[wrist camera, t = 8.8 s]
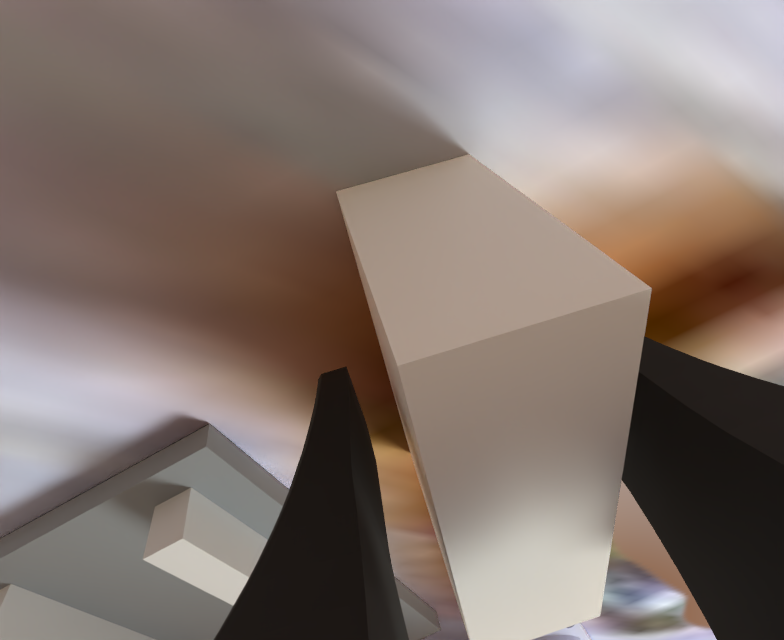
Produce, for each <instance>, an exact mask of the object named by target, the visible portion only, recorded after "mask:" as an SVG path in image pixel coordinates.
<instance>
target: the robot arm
mask: <svg viewBox="0 0 784 640" xmlns="http://www.w3.org/2000/svg"><path fill="white" fill-rule="evenodd" d="M622 481H623V482H624V483H625V485H626V486H627V488H628V489H629V491H630V492H631V494H632V495H633V497H634V498H635V500H636V501H637V503H638V505H639V506H640V508H641V509H642V511H643V513H644V514H645V516H646V517H647V519H648V521H649V522H650V524H651V525H652V527H653V528H654V530H655V532H656V534H657V535H658V537H659V539H660V540H661V542H662V543H663V545H664V547H665V549H666V550H667V552H668V554H669V555H670V557H671V559H672V560H673V562H674V564H675V565H676V567H677V569H678V570H679V572H680V574H681V576H682V577H683V579H684V581H685V583H686V585H687V586H688V588H689V589H690V591H691V593H692V595H693V597H694V598H695V600H696V602H697V604H698V606H699V607H700V609H701V611H702V613H703V614H704V616H705V618H706V620H707V622H708V624H709V626H710V628H711V629H712V631H713V633H714V635H715V637H716V639H717V640H784V386H781V385H777V384H774V383H770V382H767V381H764V380H760V379H757V378H754V377H751V376H748V375H744V374H741V373H738V372H735V371H732V370H729V369H726V368H723V367H720V366H717V365H714V364H711V363H709V362H706V361H703V360H700V359H698V358H695V357H693V356H690V355H688V354H685V353H683V352H680V351H678V350H675V349H672V348H670V347H668V346H665V345H663V344H660V343H658V342H656V341H653V340H651V339H649V338H647V337H644V341H643V347H642V353H641V360H640V366H639V372H638V379H637V385H636V391H635V398H634V404H633V410H632V417H631V423H630V429H629V436H628V442H627V448H626V455H625V461H624V467H623V474H622ZM214 640H409V637H408V633H407V629H406V625H405V621H404V617H403V612H402V608H401V604H400V600H399V595H398V591H397V587H396V583H395V578H394V574H393V570H392V564H391V559H390V554H389V548H388V541H387V534H386V527H385V520H384V513H383V506H382V499H381V492H380V485H379V478H378V472H377V465H376V459H375V455H374V451H373V447H372V443H371V440H370V436H369V432H368V428H367V424H366V421H365V418H364V415H363V413H362V410H361V407H360V404H359V401H358V398H357V396H356V393H355V390H354V387H353V384H352V381H351V379H350V376H349V373H348V370H347V367H343V368H340V369H337V370H334V371H330V372H327V373H324V374H321V376H320V377H319V379H318V387H317V393H316V399H315V404H314V409H313V413H312V418H311V422H310V426H309V429H308V433H307V437H306V441H305V444H304V448H303V451H302V454H301V457H300V460H299V463H298V466H297V469H296V472H295V475H294V478H293V481H292V484H291V487H290V489H289V492H288V495H287V497H286V500H285V502H284V505H283V507H282V510H281V512H280V514H279V517H278V519H277V521H276V523H275V526H274V528H273V530H272V532H271V535H270V537H269V539H268V541H267V543H266V545H265V547H264V549H263V551H262V553H261V555H260V557H259V559H258V562H257V564H256V565H255V567H254V569H253V571H252V573H251V575H250V577H249V579H248V581H247V583H246V585H245V586H244V588H243V590H242V592H241V593H240V595H239V597H238V598H237V600H236V602H235V604H234V605H233V607H232V609H231V611H230V612H229V614H228V616H227V618H226V619H225V621H224V623H223V625H222V626H221V628H220V630H219V632H218V633H217V635H216V637H215V638H214ZM532 640H592V639H591V638H590V636H589V635H588V633H587V632H586V630H585V629H584V627H583V626H582V624H581V623H578V624H575V625H573V626H570V627H567V628H564V629H561V630H558V631H555V632H552V633H549V634H547V635H544V636H541V637H538V638H535V639H532Z"/></svg>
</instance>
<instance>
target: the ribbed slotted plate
mask: <svg viewBox="0 0 784 640" xmlns="http://www.w3.org/2000/svg"><path fill="white" fill-rule="evenodd" d="M288 492H289V489H287V488H286V487H285V486H284V485H283V484H281V483H280V482H279V481H278V480H277V479H275V478H274V477H273V476H272V475H271V474H269V473H268V472H267V471H266V470H264V469H263V468H262V467H261V466H260V465H258V464H257V463H256V462H255V461H254V460H252V459H251V458H250V457H249V456H248V455H246V454H245V453H244V452H243V451H242V450H240V449H239V448H238V447H237V446H236V445H234V444H233V443H232V442H231V441H229V440H228V439H227V438H226V437H225V436H223V435H222V434H221V433H220V432H219V431H217V430H216V429H215V428H214V427H213V426H211V425H210V424H208V425H207V426H205V427H203V428H201V429H199V430H198V431H196V432H194V433H192V434H190V435H188V436H187V437H185V438H183V439H181V440H179V441H177V442H176V443H174V444H172V445H170V446H168V447H167V448H165V449H163V450H161V451H159V452H157V453H156V454H154V455H152V456H150V457H148V458H146V459H145V460H143V461H141V462H139V463H137V464H136V465H134V466H132V467H130V468H128V469H126V470H125V471H123V472H121V473H119V474H117V475H116V476H114V477H112V478H110V479H108V480H106V481H105V482H103V483H101V484H99V485H97V486H95V487H94V488H92V489H90V490H88V491H86V492H85V493H83V494H81V495H79V496H77V497H75V498H74V499H72V500H70V501H68V502H66V503H64V504H63V505H61V506H59V507H57V508H55V509H54V510H52V511H50V512H48V513H46V514H44V515H43V516H41V517H39V518H37V519H35V520H34V521H32V522H30V523H28V524H26V525H24V526H23V527H21V528H19V529H17V530H15V531H13V532H12V533H10V534H8V535H6V536H4V537H3V538H1V539H0V640H214V638H215V637H216V635H217V633H218V632H219V630H220V628H221V626H222V625H223V623H224V621H225V619H226V618H227V616H228V614H229V612H230V611H231V609H232V607H233V605H234V604H235V602H236V600H237V598H238V597H239V595H240V593H241V592H242V590H243V588H244V586H245V585H246V583H247V581H248V579H249V577H250V575H251V573H252V571H253V569H254V567H255V565H256V564H257V562H258V559H259V557H260V555H261V553H262V551H263V549H264V547H265V545H266V543H267V541H268V539H269V537H270V535H271V532H272V530H273V528H274V526H275V523H276V521H277V519H278V517H279V514H280V512H281V510H282V507H283V505H284V502H285V500H286V497H287V495H288ZM394 578H395V577H394ZM395 583H396V587H397V591H398V595H399V600H400V604H401V608H402V612H403V617H404V621H405V625H406V629H407V633H408V637H409V640H421V639H423V638H425V637H427V636H429V635H431V634H434V633H436V632H438V631H440V630H441V628H440V625H439V621H438V617H437V614H436V611H435V610H433V609H432V608H431V607H430V606H429V605H427V604H426V603H425V602H424V601H423V600H421V599H420V598H419V597H418V596H417V595H415V594H414V593H413V592H412V591H410V590H409V589H408V588H407V587H406V586H404V585H403V584H402V583H401V582H400V581H398V580H397V579H396V578H395Z"/></svg>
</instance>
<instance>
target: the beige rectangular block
mask: <svg viewBox="0 0 784 640" xmlns="http://www.w3.org/2000/svg"><path fill="white" fill-rule="evenodd" d="M336 193H337V197H338V200H339V204H340V208H341V211H342V215H343V218H344V222H345V225H346V229H347V232H348V236H349V239H350V243H351V246H352V250H353V253H354V257H355V260H356V264H357V267H358V271H359V274H360V278H361V281H362V285H363V288H364V292H365V295H366V299H367V302H368V306H369V309H370V313H371V316H372V320H373V323H374V327H375V330H376V334H377V337H378V341H379V344H380V348H381V351H382V355H383V358H384V362H385V366H386V369H387V373H388V376H389V380H390V383H391V387H392V390H393V394H394V397H395V401H396V404H397V408H398V411H399V415H400V418H401V422H402V425H403V429H404V432H405V436H406V439H407V443H408V446H409V450H410V453H411V456H412V460H413V463H414V466H415V469H416V472H417V476H418V479H419V482H420V485H421V488H422V492H423V495H424V498H425V501H426V504H427V508H428V511H429V514H430V517H431V520H432V524H433V527H434V530H435V533H436V536H437V539H438V543H439V546H440V549H441V552H442V555H443V559H444V562H445V565H446V568H447V571H448V575H449V578H450V581H451V584H452V587H453V591H454V594H455V597H456V600H457V603H458V607H459V610H460V613H461V616H462V619H463V623H464V626H465V629H466V632H467V635H468V638H469V640H532V639H535V638H538V637H541V636H544V635H547V634H549V633H552V632H555V631H558V630H561V629H564V628H567V627H570V626H573V625H575V624H578V623H581V622H584V621H587V620H590V619H593V618H596V617H598V616H600V613H601V606H602V600H603V594H604V587H605V581H606V575H607V569H608V562H609V556H610V550H611V543H612V537H613V531H614V524H615V517H616V512H617V505H618V499H619V492H620V486H621V480H622V474H623V467H624V461H625V455H626V448H627V442H628V436H629V429H630V423H631V417H632V410H633V404H634V398H635V391H636V385H637V379H638V372H639V366H640V360H641V353H642V347H643V341H644V334H645V328H646V322H647V315H648V309H649V303H650V296H651V290H652V288H651V287H649V286H648V285H646V284H645V283H644V282H642V281H641V280H640V279H638V278H637V277H636V276H634V275H633V274H632V273H630V272H629V271H627V270H626V269H625V268H623V267H622V266H621V265H619V264H618V263H617V262H615V261H614V260H612V259H611V258H610V257H608V256H607V255H606V254H604V253H603V252H602V251H600V250H599V249H598V248H596V247H595V246H593V245H592V244H591V243H589V242H588V241H587V240H585V239H584V238H583V237H581V236H580V235H578V234H577V233H576V232H574V231H573V230H572V229H570V228H569V227H568V226H566V225H565V224H564V223H562V222H561V221H559V220H558V219H557V218H555V217H554V216H553V215H551V214H550V213H549V212H547V211H546V210H544V209H543V208H542V207H540V206H539V205H538V204H536V203H535V202H534V201H532V200H531V199H530V198H528V197H527V196H525V195H524V194H523V193H521V192H520V191H519V190H517V189H516V188H515V187H513V186H512V185H510V184H509V183H508V182H506V181H505V180H504V179H502V178H501V177H500V176H498V175H497V174H496V173H494V172H493V171H491V170H490V169H489V168H487V167H486V166H485V165H483V164H482V163H481V162H479V161H478V160H476V159H475V158H474V157H472V156H471V155H470V154H468V155H464V156H461V157H457V158H454V159H450V160H447V161H443V162H439V163H436V164H432V165H429V166H425V167H421V168H418V169H414V170H411V171H407V172H404V173H400V174H396V175H393V176H389V177H386V178H382V179H379V180H375V181H371V182H368V183H364V184H361V185H357V186H354V187H350V188H346V189H343V190H339V191H336Z"/></svg>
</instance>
